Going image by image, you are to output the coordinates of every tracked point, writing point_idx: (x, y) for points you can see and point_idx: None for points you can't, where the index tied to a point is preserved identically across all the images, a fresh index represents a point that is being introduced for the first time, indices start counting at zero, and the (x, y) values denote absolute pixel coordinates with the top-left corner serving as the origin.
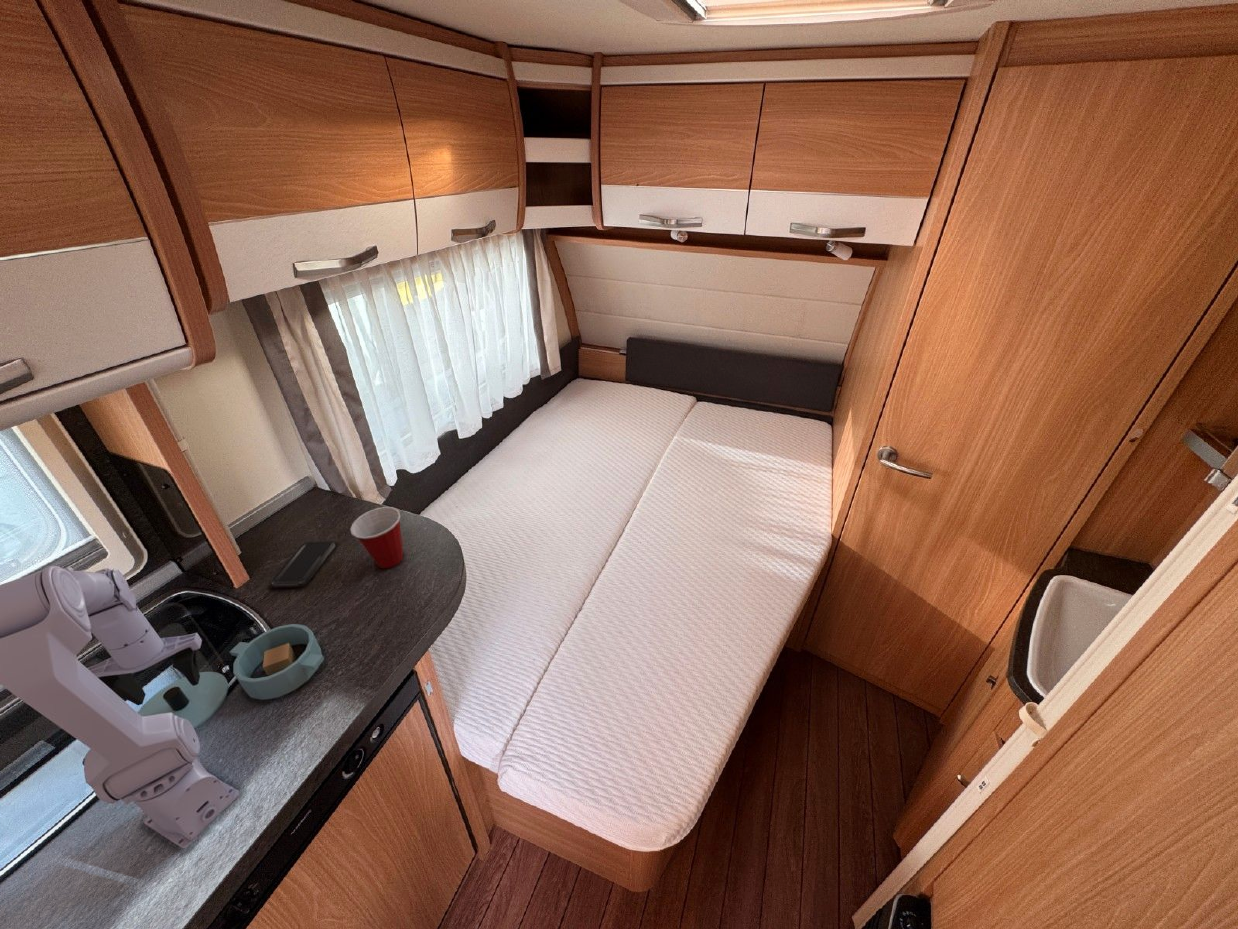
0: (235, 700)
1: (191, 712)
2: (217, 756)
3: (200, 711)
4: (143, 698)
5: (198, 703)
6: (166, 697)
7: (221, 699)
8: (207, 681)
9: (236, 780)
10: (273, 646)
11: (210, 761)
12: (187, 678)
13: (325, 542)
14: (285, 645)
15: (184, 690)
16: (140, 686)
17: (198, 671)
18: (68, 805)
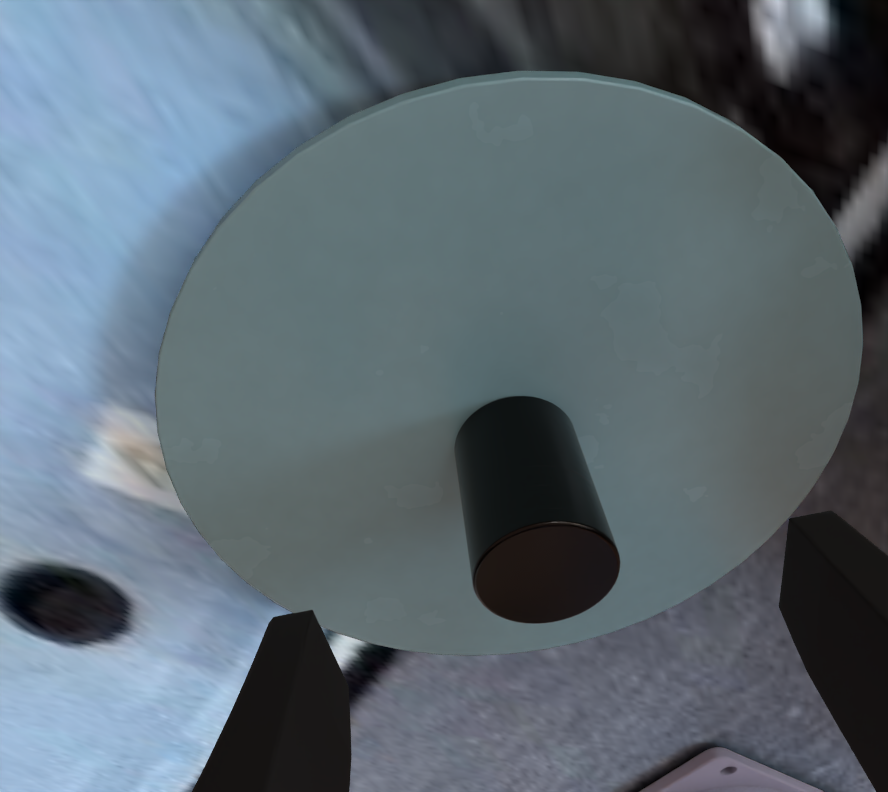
0: (870, 424)
1: (619, 518)
2: (777, 697)
3: (682, 523)
4: (329, 658)
5: (655, 463)
6: (519, 613)
7: (819, 462)
8: (684, 246)
9: (858, 775)
10: None
11: (748, 710)
12: (871, 771)
13: None
14: None
15: (488, 302)
16: (290, 706)
17: (879, 549)
18: (155, 772)
